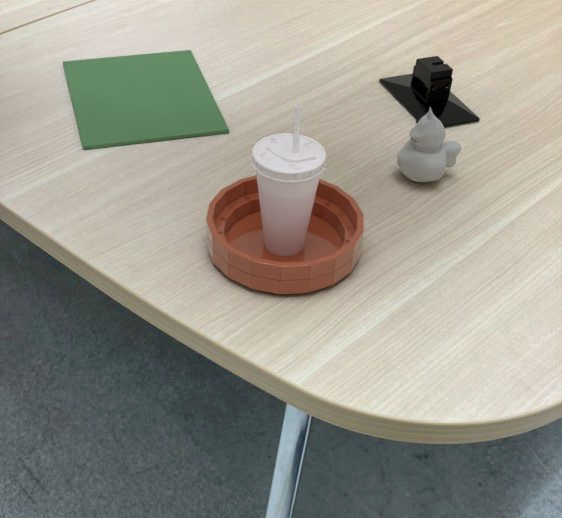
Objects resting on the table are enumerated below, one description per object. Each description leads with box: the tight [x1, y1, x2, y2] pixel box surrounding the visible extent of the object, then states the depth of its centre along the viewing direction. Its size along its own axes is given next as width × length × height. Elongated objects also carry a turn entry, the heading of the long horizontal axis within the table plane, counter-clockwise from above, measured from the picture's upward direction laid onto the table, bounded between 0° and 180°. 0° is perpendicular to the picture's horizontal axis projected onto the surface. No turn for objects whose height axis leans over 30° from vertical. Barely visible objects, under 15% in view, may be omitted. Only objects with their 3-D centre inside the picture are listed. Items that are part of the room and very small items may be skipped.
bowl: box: [205, 175, 365, 295], centre depth 73 cm, size 14×14×4 cm
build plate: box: [378, 55, 481, 129], centre depth 93 cm, size 12×7×5 cm, turn 22°
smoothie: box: [250, 103, 327, 256], centre depth 68 cm, size 6×6×14 cm
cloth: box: [62, 49, 230, 150], centre depth 92 cm, size 16×20×1 cm
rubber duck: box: [396, 107, 462, 183], centre depth 80 cm, size 5×7×8 cm
